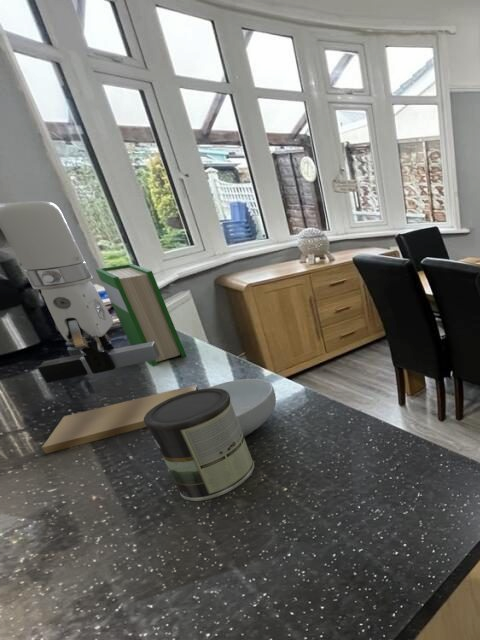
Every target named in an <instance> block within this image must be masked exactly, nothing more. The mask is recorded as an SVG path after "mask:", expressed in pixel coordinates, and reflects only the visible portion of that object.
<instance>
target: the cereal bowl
mask: <svg viewBox="0 0 480 640" xmlns="http://www.w3.org/2000/svg"><path fill="white" fill-rule="evenodd" d="M208 388H218V389H223V390H226V391H227V392H228V393H229V395H230V401H231V404H232V407H233V409H234V412H235V415H236V417H237V420H238V423H239V425H240V428H241V431H242V433H243V436H244V438H245V437H247V436H249V435H250V434H251V433H253V432H254V431H255V430H257V429H258V428H260V427H261V426H262V425H263V424H265V422H267V421H268V419H270V417H271V415H272V414H273V412H274V410H275V408H276V404H277V403H276V402H277V400H276V399H277V397H276V393H275V389H274V386H273V384H272V383H271V382H270V381H268V380H265V379H260V378H243V379H235V380H229V381H226V382H221V383H219V384H214V385H212V386H209V387H206V388H205V389H208Z"/></svg>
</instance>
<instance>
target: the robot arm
mask: <svg viewBox="0 0 480 640" xmlns="http://www.w3.org/2000/svg"><path fill="white" fill-rule="evenodd" d="M7 248H10V249H11V250H12V252H13V254H14V256H15V258H16V260H17V262H18V263H19V265H20V267H21V269H22V271H23V273H24V275H25V276H26V278H27V279H28V281H29V283H30V285H31V287H32V289H33V290H40V292H41V293H42V294H43V296H42V297H43V299H44V302H45V304H46V306H47V308H48V311H49V313H50V315H51V317H52V319H53V321H54V324H55V323H56V325H57V327H58V329H59V331H60V332H61V333H60V332H59V333H60V334H61V336H62V338H64V340H65V341H66V342H67V341H70V342H74V345H75V347H76V348H77V349H80V351H81V353H82V355H83V356H84V358H85V360H86V362H87V364H88V366H89V367H90V369H91V371H92V373H91V374H94V375H95V374H100V373H105V372H110V371H114V370H115V369H116V368H115V365H114V363H113V361H112V359H111V357H110V355H109V353H108V351H107V350H112V349H115V347H114V345H113V343H112V342H111V339H110V337H109V335H108V333H107V332H108V331H109V330H110V329H111V327H112V326H113V325H114V320H113V317H112V316H111V313H110V312H109V310H108V308H107V305H106V304H105V303H104V301H103V299H102V297H101V295H100V294H99V292H98V289H96V287H95V285H94V284H93V282H92V281H93V280H94V277H93V275H92V273H91V271H90V269H89V267H88V265H87V262H86V260H85V258H84V256H83V254H82V252H81V250H80V248H79V245H78V243H77V241H76V239H75V237H74V235H73V233H72V231H71V229H70V227H69V224H68V223H67V221H66V218H65V216H64V214H63V212H62V211H61V208H59V206H58V205H56V204H55V203H53V202H51V201H44V200H43V201H42V200H41V201H40V200H39V201H38V200H35V201H18V202H0V250H2V249H7Z"/></svg>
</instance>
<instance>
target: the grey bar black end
mask: <svg viewBox="0 0 480 640" xmlns="http://www.w3.org/2000/svg"><path fill="white" fill-rule="evenodd" d="M107 351H108V353H109V355H110V357H111V359H112V361H113V363H114V365H115V369H119V368H123V367H128V366H133V365H138V364H142V363H148V361H152V360H157V359H158V358H159V356H160V353H159V351H158V348H157V346H156V344H155V342H154V341H153V342H148V343H143V344H138V345H132V346H131V345H127V346H122V347H117V348H114V349H112V350H107ZM37 369H38V371H39V372H40V374H41V376H42V378H43V379H44V381H45V383H47V384H48V383H53V382H58V381H62V380H67V379H72V378H76V377H81V376H82V377H83V376H87V375H90V374H91V375H92V374H93V373H92V371H91V369H90V367H89V366H88V364H87V362H86V360H85V358H84V356H83V355H82V354H80V355H75V356H70V355H69V356H64V357H59V358H55V359H49V360H44V361H43V362H42V363H41V364H39V366H38V367H37Z"/></svg>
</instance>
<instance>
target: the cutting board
mask: <svg viewBox="0 0 480 640" xmlns="http://www.w3.org/2000/svg"><path fill="white" fill-rule="evenodd" d="M195 390H199V387H198V385H197V384H193V385H190V386H185V387H180V388H176V389H172V390H168V391H163V392H159V393H155V394H151V395H147V396H143V397H139V398H135V399H131V400H125V401H122V402H118V403H114V404H110V405H106V406H102V407H97V408H93V409H89V410H85V411H81V412H77V413H72V414H68V415H64V416H63V417H62V418H61V420H60V421H59V423H57V425H56V427H55V428H54V429H53V431H52V432H51V434H50V435H49V437H48V438H47V439H46V441H45V442H44V443H43V444H42V446H41V449H42V451H43V453H44V454H45V455H47V454H51V453H55V452H58V451H63V450H66V449H69V448H73V447H77V446H80V445H85V444H89V443H92V442H95V441H99V440H103V439H107V438H110V437H114V436H118V435H121V434H127V433H129V432H134V431H137V430H141V429H144V428H148V427H147V426H146V424H145V423H144V417H145V415H146V414H147V413H148V412H149V411H150V410H151V409H152V408H153V407H155V406H156V405H158V404H160V403H162V402H164V401H165V400H168V399H170V398H172V397H175V396H177V395H180V394H183V393H187V392H190V391H195Z"/></svg>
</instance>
